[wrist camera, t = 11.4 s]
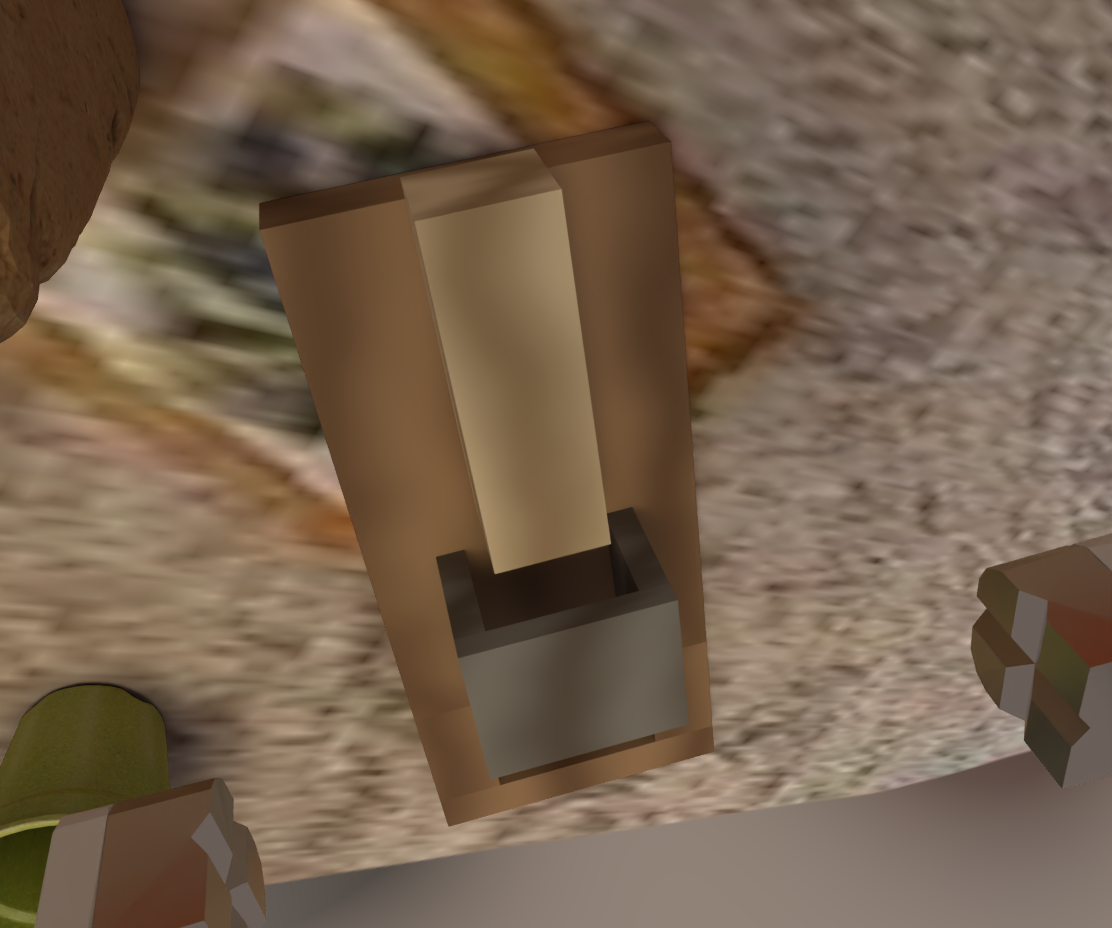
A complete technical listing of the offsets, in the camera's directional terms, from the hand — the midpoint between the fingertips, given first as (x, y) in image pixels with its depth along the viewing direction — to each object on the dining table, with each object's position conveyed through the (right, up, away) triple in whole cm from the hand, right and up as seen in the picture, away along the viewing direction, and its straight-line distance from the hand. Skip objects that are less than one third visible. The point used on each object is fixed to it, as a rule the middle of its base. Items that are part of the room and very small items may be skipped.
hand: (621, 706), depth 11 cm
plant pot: (-21, -9, +37) cm, 44 cm away
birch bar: (-3, +7, +28) cm, 29 cm away
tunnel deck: (-2, 0, +35) cm, 35 cm away
